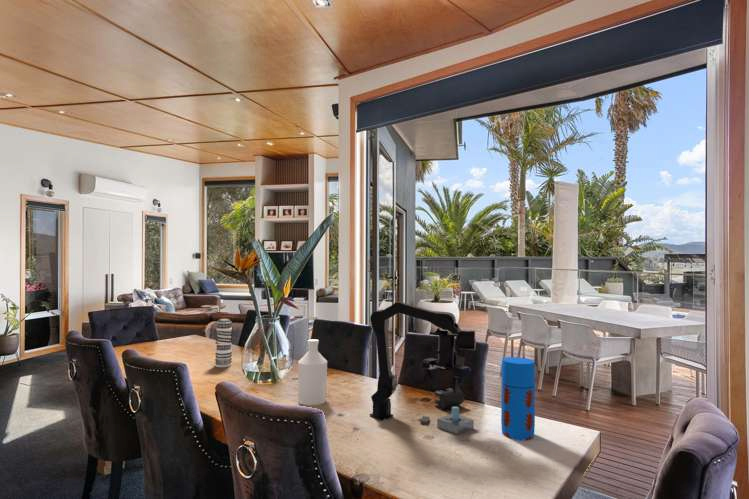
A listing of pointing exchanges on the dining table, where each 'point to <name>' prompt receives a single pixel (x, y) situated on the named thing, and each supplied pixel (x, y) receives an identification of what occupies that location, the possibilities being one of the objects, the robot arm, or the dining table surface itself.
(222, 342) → the decorative candle
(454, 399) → the end cap
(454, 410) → the round bit
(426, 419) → the charcoal rectangular brick
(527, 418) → the thermos
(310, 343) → the bottle
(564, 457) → the dining table surface
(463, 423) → the socket block
